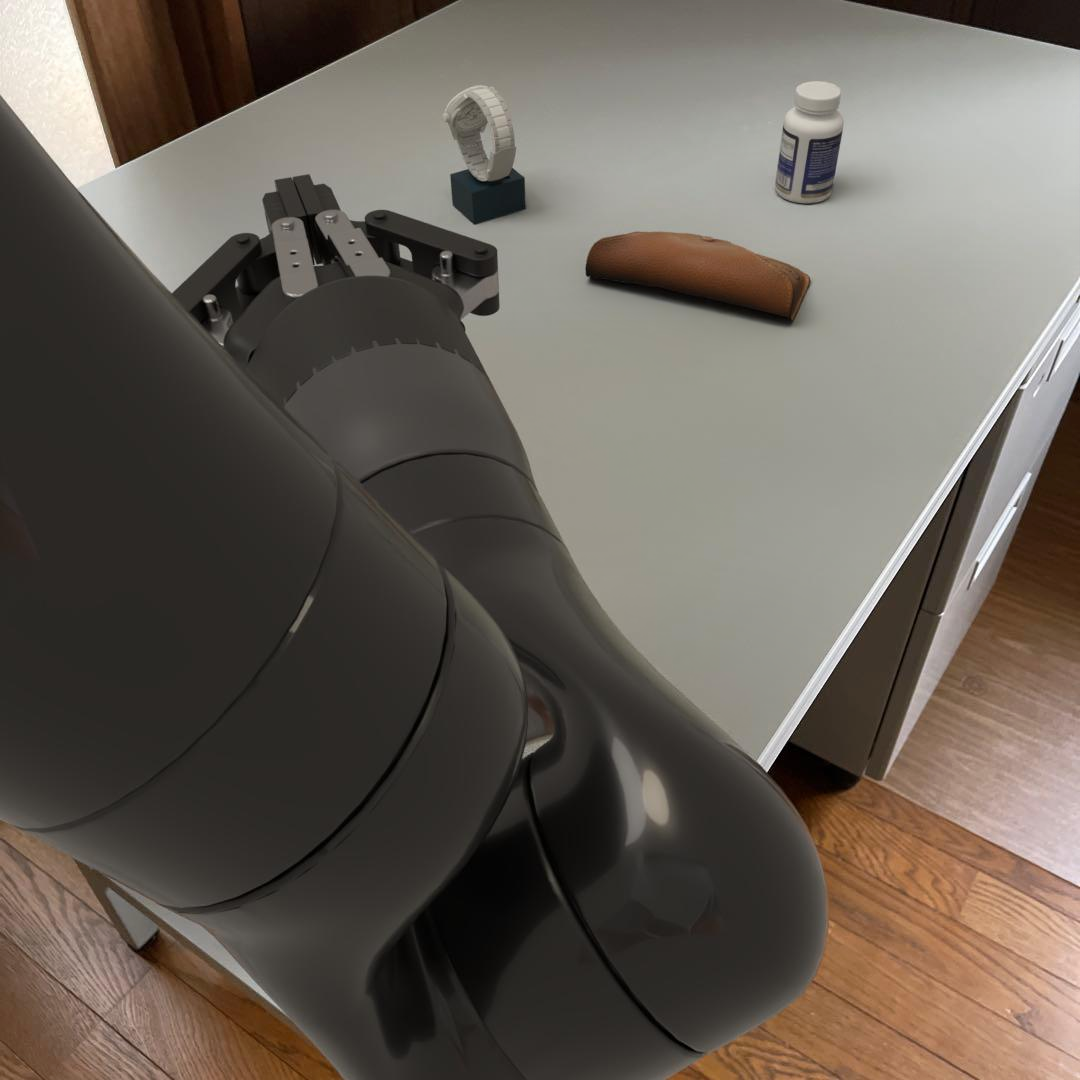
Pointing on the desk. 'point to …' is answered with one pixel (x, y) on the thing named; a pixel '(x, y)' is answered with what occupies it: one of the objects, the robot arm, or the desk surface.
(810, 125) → the pill bottle
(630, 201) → the desk surface
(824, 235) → the desk surface
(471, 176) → the watch
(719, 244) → the sunglasses case
